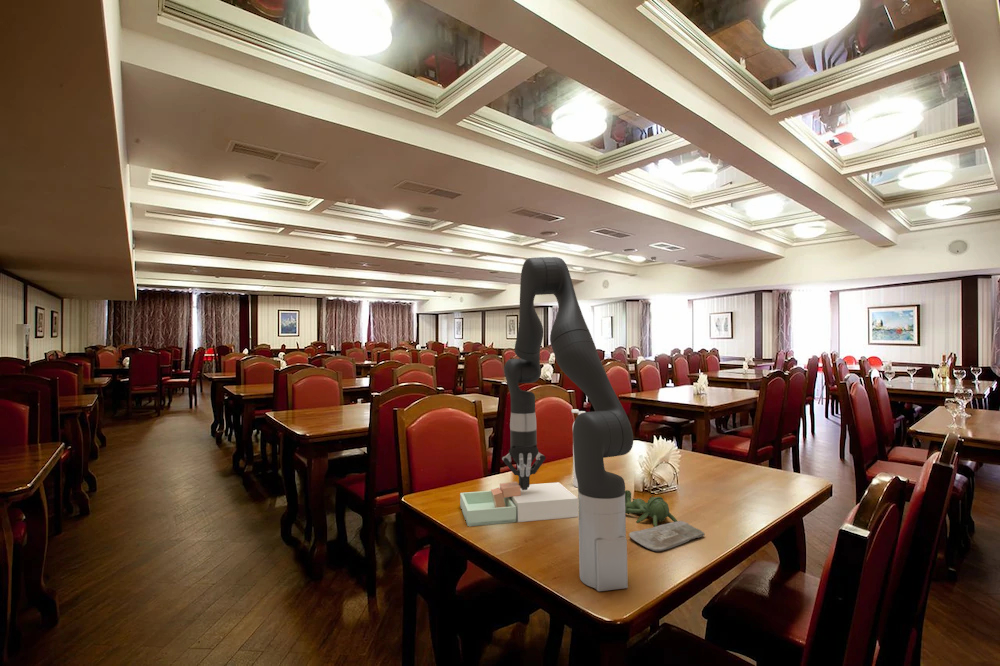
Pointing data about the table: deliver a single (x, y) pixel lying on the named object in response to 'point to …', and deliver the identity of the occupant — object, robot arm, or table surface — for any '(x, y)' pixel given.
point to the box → (485, 509)
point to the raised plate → (545, 503)
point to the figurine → (648, 508)
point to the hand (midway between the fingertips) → (524, 489)
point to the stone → (666, 535)
